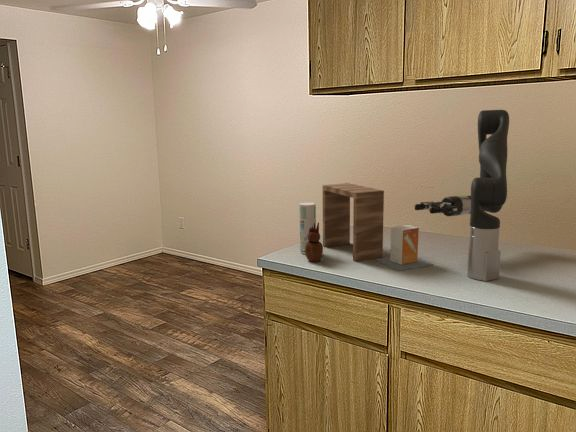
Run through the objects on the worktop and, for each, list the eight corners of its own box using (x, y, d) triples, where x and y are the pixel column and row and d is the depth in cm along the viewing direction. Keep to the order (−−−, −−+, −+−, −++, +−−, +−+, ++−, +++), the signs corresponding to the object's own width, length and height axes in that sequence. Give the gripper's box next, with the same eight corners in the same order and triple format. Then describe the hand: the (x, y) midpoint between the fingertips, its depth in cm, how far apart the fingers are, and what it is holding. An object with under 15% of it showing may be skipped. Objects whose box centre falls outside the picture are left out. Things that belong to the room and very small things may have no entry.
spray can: (318, 253, 196) (318, 204, 192) (303, 255, 194) (302, 205, 190) (312, 249, 202) (312, 201, 198) (297, 251, 200) (296, 203, 196)
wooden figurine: (325, 260, 187) (325, 221, 184) (316, 263, 183) (315, 224, 180) (312, 257, 191) (311, 219, 188) (302, 260, 187) (301, 222, 184)
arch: (382, 257, 189) (383, 190, 184) (355, 261, 184) (356, 193, 179) (347, 242, 212) (347, 183, 207) (322, 246, 207) (322, 185, 202)
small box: (401, 265, 178) (402, 230, 175) (389, 261, 183) (390, 227, 180) (418, 261, 182) (419, 227, 179) (405, 257, 187) (406, 224, 184)
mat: (433, 265, 179) (433, 264, 178) (399, 270, 172) (399, 269, 172) (407, 255, 192) (407, 254, 192) (375, 260, 186) (375, 259, 186)
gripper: (444, 194, 194) (410, 196, 187) (471, 198, 181) (436, 201, 174) (443, 212, 195) (410, 216, 188) (469, 218, 182) (435, 222, 176)
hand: (422, 208), depth 181 cm, fingers open, 8 cm apart
